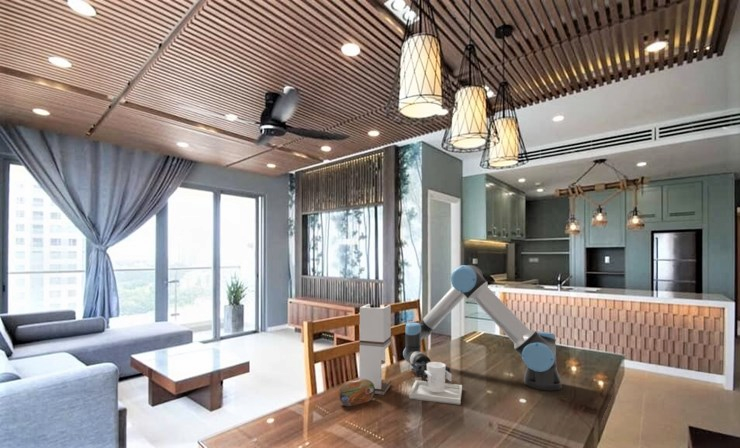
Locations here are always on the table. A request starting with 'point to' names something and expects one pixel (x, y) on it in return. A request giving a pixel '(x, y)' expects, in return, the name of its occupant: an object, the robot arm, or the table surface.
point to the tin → (356, 392)
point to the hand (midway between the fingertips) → (441, 378)
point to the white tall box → (374, 344)
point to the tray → (436, 393)
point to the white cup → (436, 376)
